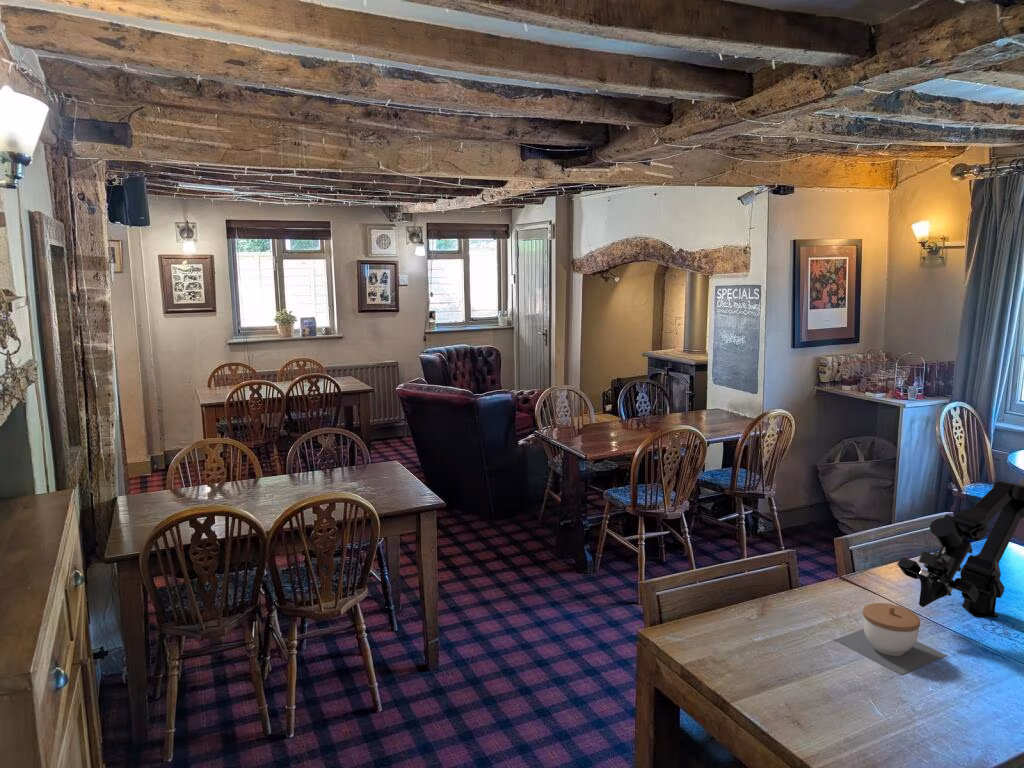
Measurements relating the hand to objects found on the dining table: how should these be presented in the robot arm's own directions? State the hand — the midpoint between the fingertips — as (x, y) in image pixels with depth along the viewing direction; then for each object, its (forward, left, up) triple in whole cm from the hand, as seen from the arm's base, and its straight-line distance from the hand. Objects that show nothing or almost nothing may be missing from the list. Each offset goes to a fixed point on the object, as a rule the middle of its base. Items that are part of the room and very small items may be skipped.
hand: (920, 605), depth 182 cm
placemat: (+10, +6, -8) cm, 14 cm away
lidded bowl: (+11, +7, -8) cm, 15 cm away
